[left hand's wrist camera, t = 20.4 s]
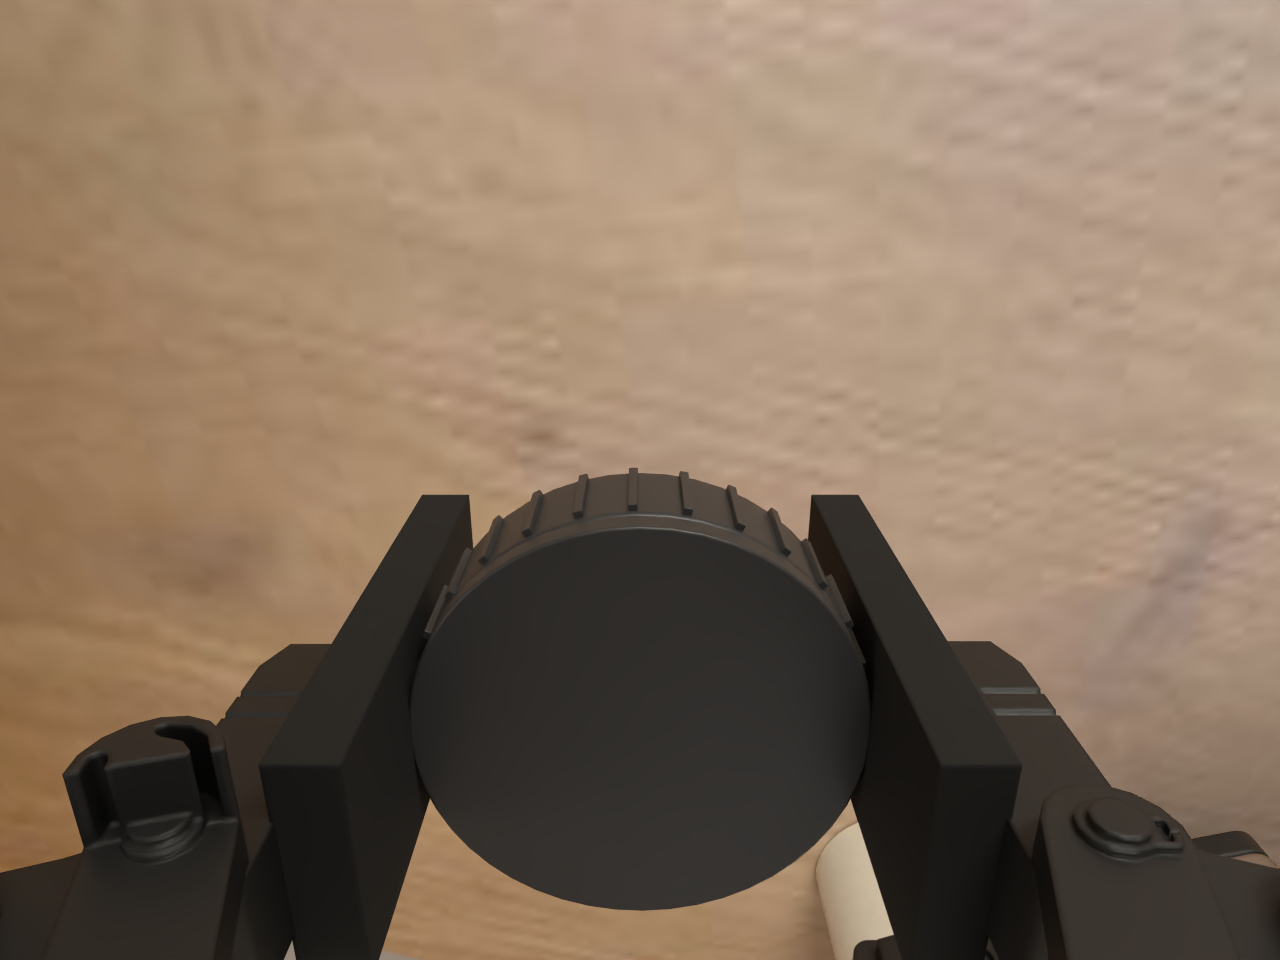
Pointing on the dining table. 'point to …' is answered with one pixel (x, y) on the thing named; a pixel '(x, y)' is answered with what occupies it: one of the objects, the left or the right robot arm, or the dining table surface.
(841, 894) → the jar
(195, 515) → the dining table surface
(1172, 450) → the dining table surface
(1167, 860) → the left robot arm
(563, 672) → the lid
